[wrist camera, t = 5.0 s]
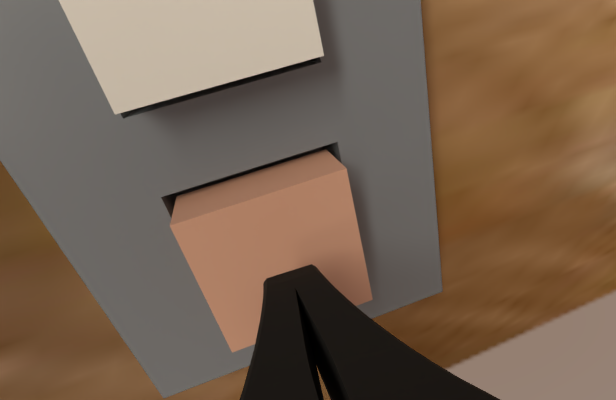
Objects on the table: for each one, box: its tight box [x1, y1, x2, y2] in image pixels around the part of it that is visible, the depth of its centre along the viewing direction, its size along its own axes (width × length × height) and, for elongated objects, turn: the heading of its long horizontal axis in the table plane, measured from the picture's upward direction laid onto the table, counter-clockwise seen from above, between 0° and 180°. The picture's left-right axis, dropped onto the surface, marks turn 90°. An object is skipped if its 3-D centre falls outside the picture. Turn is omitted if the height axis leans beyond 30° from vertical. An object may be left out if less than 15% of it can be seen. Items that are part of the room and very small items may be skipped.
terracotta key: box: [170, 149, 373, 353], centre depth 11 cm, size 5×5×2 cm
